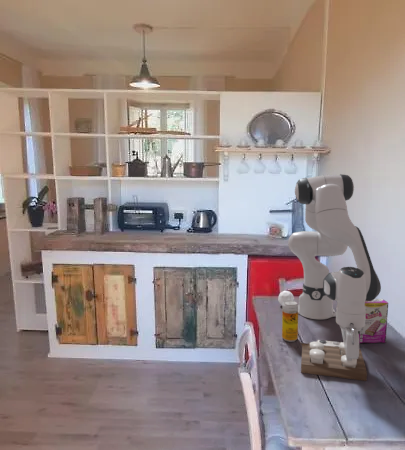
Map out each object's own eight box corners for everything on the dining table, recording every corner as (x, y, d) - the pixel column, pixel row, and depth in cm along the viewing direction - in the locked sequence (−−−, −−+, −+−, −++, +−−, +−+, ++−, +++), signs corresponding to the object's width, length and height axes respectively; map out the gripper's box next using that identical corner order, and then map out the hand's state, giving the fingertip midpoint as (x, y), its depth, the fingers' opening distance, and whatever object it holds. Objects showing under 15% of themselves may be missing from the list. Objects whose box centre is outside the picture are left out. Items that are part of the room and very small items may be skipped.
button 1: (309, 351, 136) (309, 340, 135) (323, 352, 134) (323, 342, 134) (309, 357, 131) (309, 346, 130) (323, 359, 130) (324, 348, 129)
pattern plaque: (317, 341, 145) (317, 339, 145) (341, 343, 143) (341, 341, 143) (317, 349, 139) (317, 347, 139) (343, 352, 136) (343, 350, 136)
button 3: (309, 359, 128) (309, 348, 127) (324, 360, 126) (324, 349, 126) (309, 366, 123) (309, 354, 123) (324, 368, 122) (324, 356, 121)
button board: (302, 350, 138) (302, 343, 137) (360, 357, 132) (360, 349, 132) (300, 372, 123) (301, 364, 122) (366, 381, 117) (366, 372, 117)
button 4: (340, 365, 125) (340, 354, 125) (355, 367, 124) (355, 356, 123) (341, 372, 121) (341, 361, 120) (357, 374, 119) (357, 363, 119)
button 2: (338, 352, 133) (339, 341, 132) (353, 353, 131) (353, 342, 131) (339, 358, 128) (340, 347, 127) (354, 360, 127) (355, 349, 126)
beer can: (286, 343, 144) (287, 306, 142) (279, 336, 150) (279, 301, 148) (300, 341, 146) (301, 304, 144) (292, 334, 152) (293, 299, 150)
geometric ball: (290, 311, 184) (297, 302, 179) (275, 306, 184) (282, 297, 179) (289, 300, 190) (297, 290, 185) (275, 295, 190) (282, 285, 185)
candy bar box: (358, 344, 142) (359, 303, 140) (352, 338, 147) (354, 298, 145) (386, 343, 143) (389, 302, 141) (380, 337, 148) (382, 297, 146)
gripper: (365, 332, 109) (363, 376, 111) (357, 308, 128) (355, 346, 130) (342, 330, 111) (340, 373, 113) (338, 306, 130) (336, 344, 132)
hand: (348, 358), depth 122 cm, fingers closed, pressing on button 4
